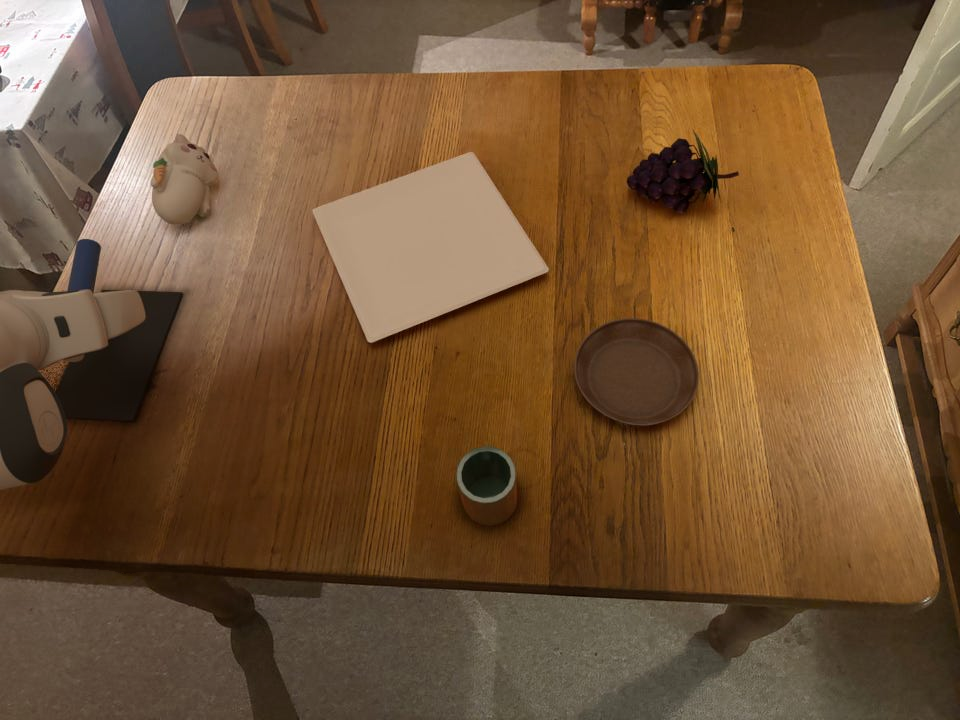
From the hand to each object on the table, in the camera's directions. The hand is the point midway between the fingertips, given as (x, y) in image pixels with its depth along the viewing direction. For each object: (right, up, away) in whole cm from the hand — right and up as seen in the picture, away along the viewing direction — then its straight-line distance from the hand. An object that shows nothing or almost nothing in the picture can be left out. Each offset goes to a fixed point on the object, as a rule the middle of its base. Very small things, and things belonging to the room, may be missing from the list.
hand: (80, 311), depth 82 cm
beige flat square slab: (+42, +10, +13) cm, 45 cm away
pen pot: (+51, -22, -6) cm, 56 cm away
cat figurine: (+5, +19, +21) cm, 29 cm away
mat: (+1, -5, +7) cm, 9 cm away
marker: (-2, +9, +5) cm, 10 cm away
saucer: (+68, -9, 0) cm, 69 cm away
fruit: (+78, +18, +15) cm, 81 cm away
